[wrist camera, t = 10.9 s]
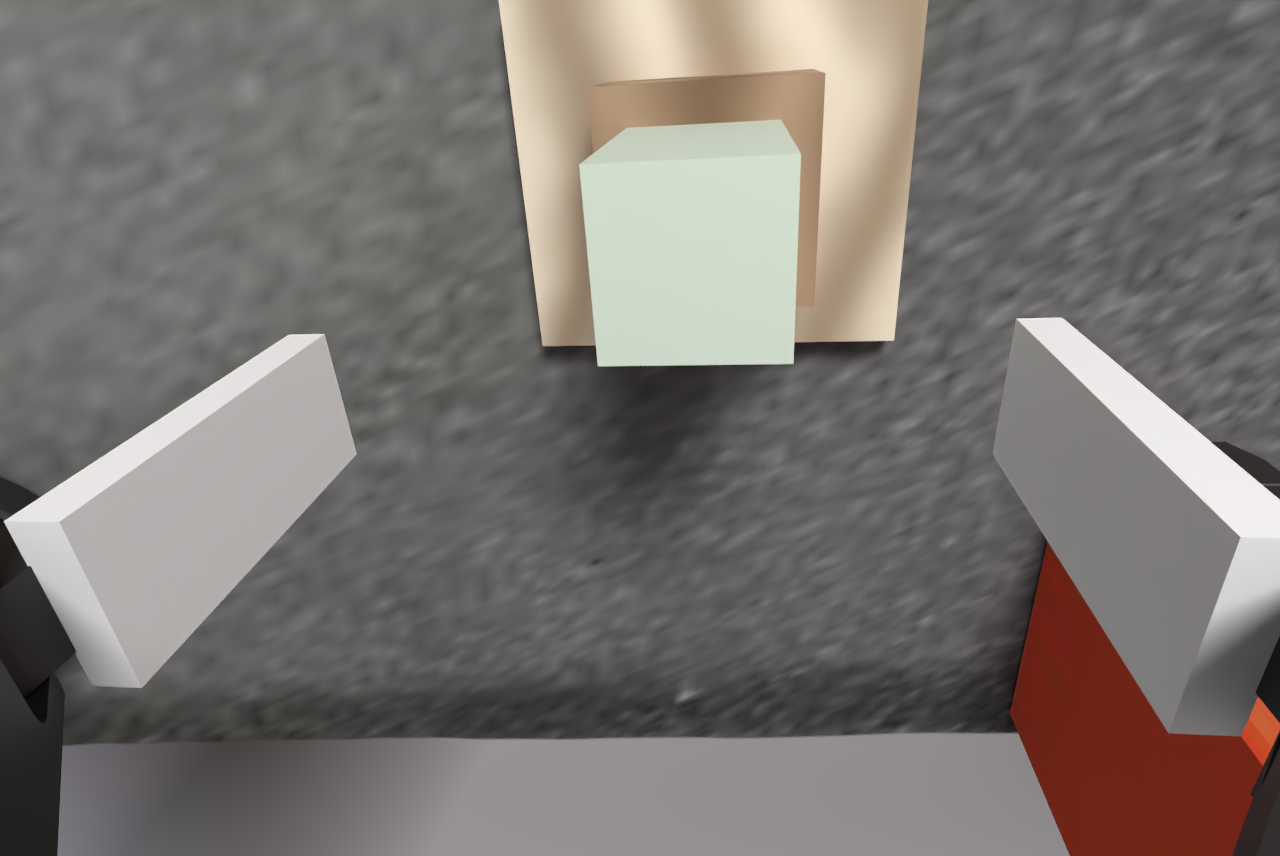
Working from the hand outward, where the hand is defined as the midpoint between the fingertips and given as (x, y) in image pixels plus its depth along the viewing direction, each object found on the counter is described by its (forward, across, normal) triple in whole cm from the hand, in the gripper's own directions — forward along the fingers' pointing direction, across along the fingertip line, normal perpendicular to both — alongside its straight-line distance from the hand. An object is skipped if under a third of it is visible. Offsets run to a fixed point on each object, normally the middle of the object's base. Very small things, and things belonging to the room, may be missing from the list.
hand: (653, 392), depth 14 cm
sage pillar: (+18, 0, 0) cm, 18 cm away
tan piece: (+25, 0, 0) cm, 25 cm away
